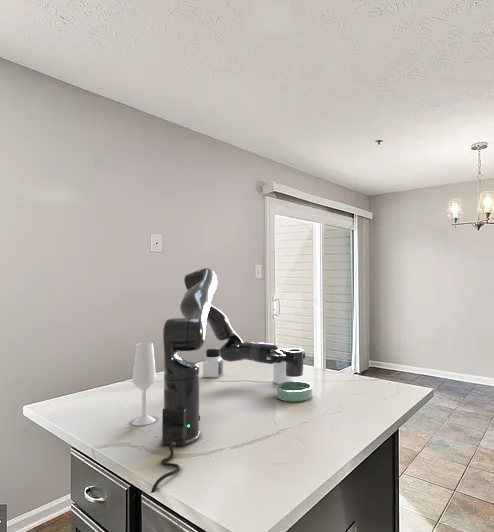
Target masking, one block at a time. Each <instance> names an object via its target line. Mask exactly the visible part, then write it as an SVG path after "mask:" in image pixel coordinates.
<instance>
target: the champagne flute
mask: <svg viewBox="0 0 494 532" xmlns="http://www.w3.org/2000/svg"><path fill="white" fill-rule="evenodd" d="M154 349H155V348H154V342H149V341H146V342H138V343H136V344H135V350H134V351H135V352H134V360H133V368H132V369H133V370H132V383H133V385H134V386H135V387H136V388H138V389H139V390H141V415H140V416H138V417H137V418H136V419H135V420H133V421H132V422H131V424H132V425H133V426H137V427H139V426H147V425H150V424H153V423H154V422H156V420H157V419H156V417H153V416H151V415H149V414H147V390H148V389H149V388H150V387H152V385H153V384H154V383H155V382H156V381H157V372H156V361H155V350H154Z"/></svg>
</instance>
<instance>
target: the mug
mask: <svg viewBox="0 0 494 532" xmlns="http://www.w3.org/2000/svg"><path fill="white" fill-rule="evenodd" d="M272 366H273V369H272V370H273V376H272V377H273V379H272V381H273V383H274V384H276V385H278V384H280V383H284V382H289V381H295V377H290V376H286V361H285V362H281V363H273V364H272Z"/></svg>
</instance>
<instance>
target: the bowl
mask: <svg viewBox="0 0 494 532" xmlns="http://www.w3.org/2000/svg"><path fill="white" fill-rule="evenodd" d="M312 397H313V384H312V383H311V382H307V381H302V380H294V381H289V382H284V383H280V384H276V398H277V399H279V400H281V401H284V402H292V403H296V402H303V401H306V400H308V399H311V398H312Z"/></svg>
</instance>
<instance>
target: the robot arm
mask: <svg viewBox="0 0 494 532" xmlns="http://www.w3.org/2000/svg"><path fill="white" fill-rule="evenodd" d="M183 282H184V286H185V288H186V290H187V291H186V292H185V293H184V294H183V296H182V299H181V301H180V304H179V311H180V314H181V315H182V316H183V317H177V318H176V317H174V318H168V319H166V320H165V321H164V324H163V328H162V345H163V346H162V347H163V349H162V350H163V409H162V410H161V411H162V413H161V415H162V417H161V418H162V420H161V421H162V426H161V428H162V429H161V445H162V446H168V448H169V453H170V454H169V456H168V457H166V458H163V459H162V460H161V461H160V463H161V465H162V466H165V467H169V468H175V469H174V470H171V471H169V472H166V473H165V474H163V475H161V476H160V477H159V478H157V480H156V481H155V482H154V484H153V486H152V488H151V491H150V493H151V494H154V493H155V492H156V490H157V487H158V485H159V484H160V483H161V482H162V481H163V480H164V479H167V478H169V477H171V476H173V475H175V474H177V473H179V472H180V469H181V467H180V465H179V464H178V463H173V462H169V461H170V460H171V459H173V457H174V448H173V447H185V446H186V445H189V444H192V443H194V442H195V441H197V440H198V439H199V438H200V421H201V416H200V365H199V364H198V363H196V362H194V361H190V360H187V359H185V358H183V357H181V356H180V355H179V353H186V352H196V351H199V350H201V349H202V348H203V346H204V343H205V338H206V330H207V322H208V324H209V327H210V328H211V330H212V332H213V334H214V337H215V338H216V340H218V341H225V340H227V341H225V343H224V344H222V346H220V348H219V349H220V350H219V355H220V358H222V359H223V361H225V362H231V363H232V362H238V361H239V362H240V361H244V360H246V361H251V362H255V363H260V364H267V365H273V363H281V362H285V361H286V362H292V363H294V362H295V356H289V355H286V350H287V349H289V348H278V346H277V345H276V344H274V343H265V342H252V341H245V342H244V341H243V340H242V339H241V337H240V336H239V335H238V334H237V332H235V330H234V329H233V328H232V326H231V324H230V322H229V319H228V317H227V316H226V314H224V312H222V311H221V310H220V309H218V308H216V307H215V306H213V305H212V299H213V296H214V294H215V291H216V290H217V286H218V280H217V275H216V274H215V272H214V271H213V270H212V269H211V268H209V267H204V268H200V269H198V270H195V271H193V272H190V273H188V274H186V275H184V279H183ZM305 359H306V353H305V352H303V360H305Z"/></svg>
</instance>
